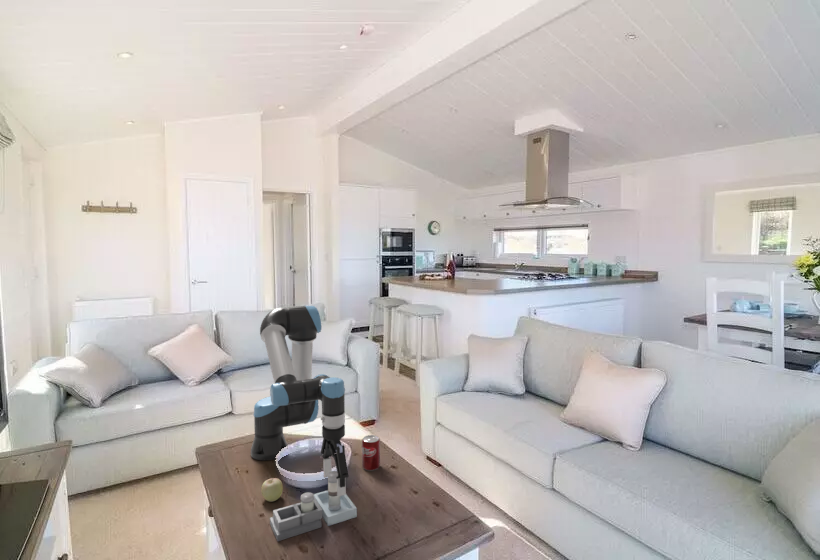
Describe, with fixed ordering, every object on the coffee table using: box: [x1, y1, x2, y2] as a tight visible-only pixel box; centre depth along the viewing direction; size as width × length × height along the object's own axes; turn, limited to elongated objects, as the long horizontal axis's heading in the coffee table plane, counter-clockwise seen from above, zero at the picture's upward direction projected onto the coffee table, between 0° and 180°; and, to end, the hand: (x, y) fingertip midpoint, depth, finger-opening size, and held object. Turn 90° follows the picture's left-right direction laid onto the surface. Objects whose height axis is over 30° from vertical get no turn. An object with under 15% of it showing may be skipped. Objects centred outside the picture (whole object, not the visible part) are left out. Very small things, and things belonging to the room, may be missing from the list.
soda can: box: [361, 434, 381, 472], centre depth 183 cm, size 7×7×12 cm
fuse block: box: [269, 491, 323, 542], centre depth 146 cm, size 10×15×9 cm
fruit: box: [260, 477, 284, 503], centre depth 161 cm, size 8×7×8 cm
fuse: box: [327, 470, 341, 511], centre depth 154 cm, size 4×4×12 cm
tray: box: [313, 489, 358, 527], centre depth 155 cm, size 15×10×3 cm, turn 30°
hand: (334, 485), depth 154 cm, fingers open, 13 cm apart
